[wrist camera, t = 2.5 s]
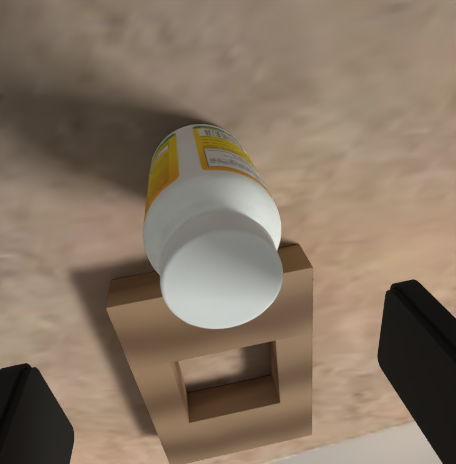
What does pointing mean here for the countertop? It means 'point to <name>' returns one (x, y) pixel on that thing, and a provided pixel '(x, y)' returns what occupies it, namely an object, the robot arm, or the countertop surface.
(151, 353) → the frame
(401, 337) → the robot arm
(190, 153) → the supplement bottle
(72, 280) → the countertop surface
